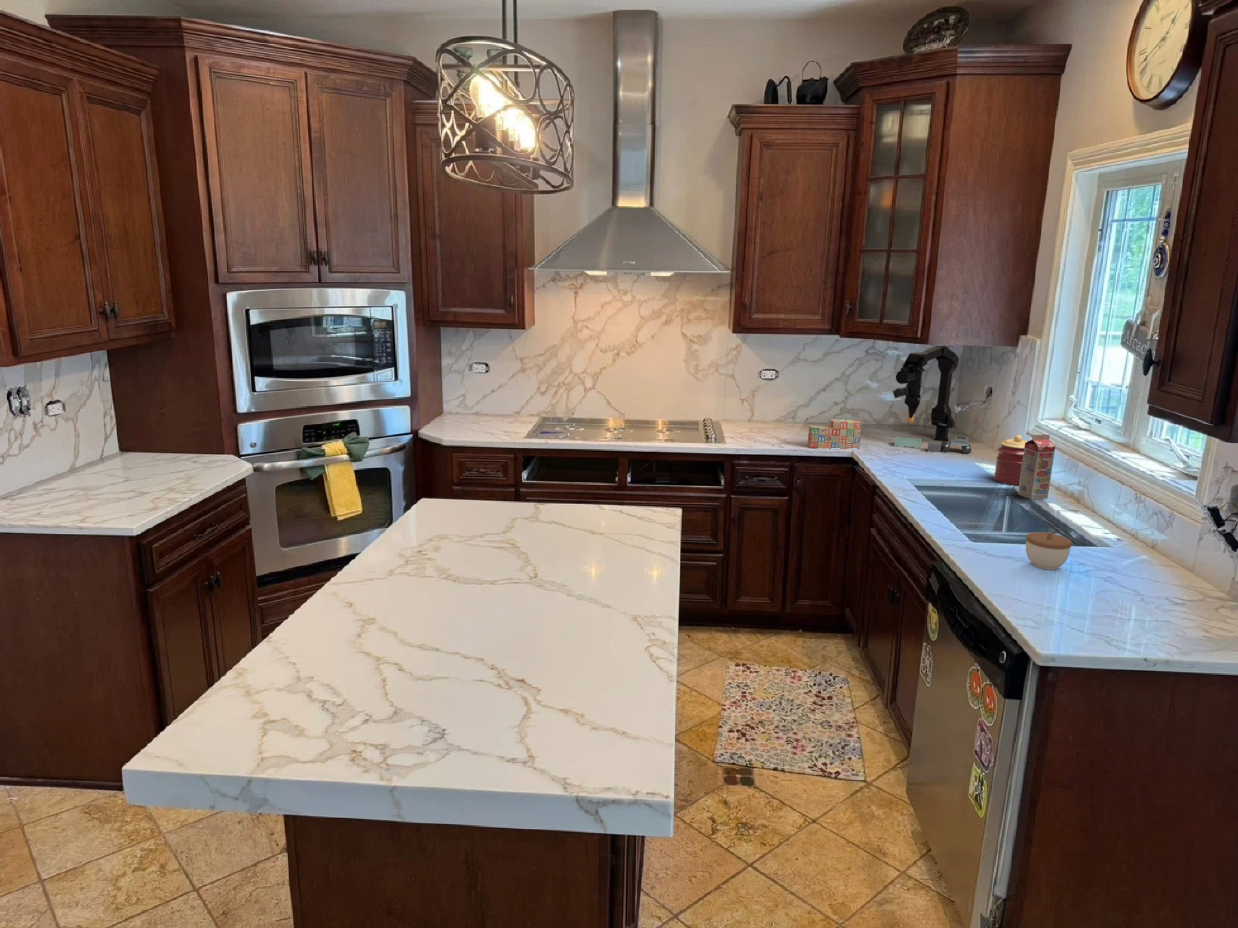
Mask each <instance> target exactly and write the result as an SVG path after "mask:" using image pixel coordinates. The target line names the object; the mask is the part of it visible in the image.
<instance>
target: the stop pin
mask: <svg viewBox="0 0 1238 928" xmlns="http://www.w3.org/2000/svg"><path fill="white" fill-rule="evenodd" d="M914 419H915V414H914V415H913V417H912V418H909V409H908V412H907V421H906V422H907V423H908V424H913V423H914V421H915V420H914Z"/></svg>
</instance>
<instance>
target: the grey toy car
mask: <svg viewBox="0 0 1238 928" xmlns="http://www.w3.org/2000/svg"><path fill="white" fill-rule="evenodd" d="M940 443H941V449H940V451H941V452H942V453H948V452H949V451H950V450H951V448H950V446H961V452H962V453H963V454H964V455H969V454H971V452H972V447H971V444H970V443H969V437H968V436H967V437H966V436H956V435H955V436H954V438H950V441H945V440H942V441H941V442H940Z"/></svg>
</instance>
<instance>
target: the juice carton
mask: <svg viewBox="0 0 1238 928" xmlns="http://www.w3.org/2000/svg"><path fill="white" fill-rule="evenodd" d="M1031 437H1032V439H1030V440H1027V441H1028V442H1026V443H1025V447H1024V454H1023V462H1022V469H1021V476H1020V483H1019V485H1018V486H1019V487H1018V492H1017V493H1018V494H1017V495H1019V496H1021V497H1024V498H1026V499H1030V500H1042V499H1041V498H1049V492H1050V483H1051V478H1052V477H1051V476H1052V472H1053V464H1054V458H1055V452H1056V445H1055V444H1054V443H1053V442H1052V440H1050V434H1033V435H1032V436H1031Z"/></svg>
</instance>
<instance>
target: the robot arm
mask: <svg viewBox="0 0 1238 928" xmlns="http://www.w3.org/2000/svg"><path fill="white" fill-rule="evenodd" d="M935 359H936V361H937V368H938V370H939V372H940V377H939V386H938V393H937V394H938V395H937V401H936V404H935V406H934V407H932V408H931V415H930V420H931V421H930V422H931V426H935V432H934V436H933V440H935V441H948V442H950V441H949V440H950V437H949V431H950V429H953V428H954V427H955V420H954V418H953V416H952V409H951V407H950V405H949V404H950V398H951V397H950V395H951V388H952V381H953V380H952V379H953V373H954V372H955V371H956V369H958V364H959V361H960V358H959V356H958V355H957V354H956V352H954V351H953V350H951V349H950V348H948V346H946V345H941V346H937V345H935V346H933V347H930V348H929V349H925V350H924V351H921V352H916V351H915V352H910V353H909V354H908V355H907V357H906V359H905V361H904V363H903V364H902V367H900V370H899V371H897V372H896V375H895V381H896V382H897V383H898V384H899V385H903V384H906V386H905V387H898V388H895V389H893V390H892V393H893V397H894V399H897V398H900V397H903V396H905V397H904V404H905V405H906V406H907V407H908V410H909V418H912V417H913V415H914V416H915V413H916V412H917V409H918V408H919V406H920V405H921V404H920V402H921V397H922V395H921V389H922V380H923V379H922V378H923V372H926V369H925V368H924V367H925V366H927V365H928V362H930V361H932V360H935Z"/></svg>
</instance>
